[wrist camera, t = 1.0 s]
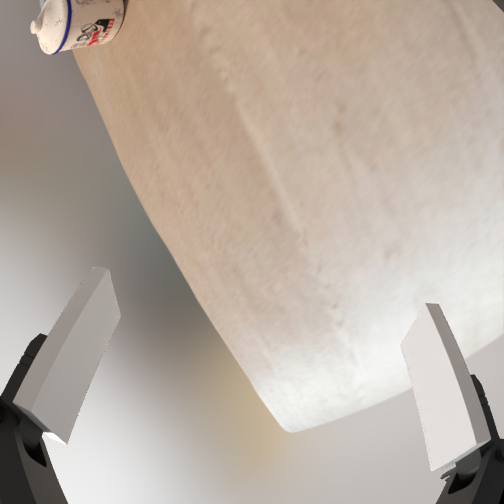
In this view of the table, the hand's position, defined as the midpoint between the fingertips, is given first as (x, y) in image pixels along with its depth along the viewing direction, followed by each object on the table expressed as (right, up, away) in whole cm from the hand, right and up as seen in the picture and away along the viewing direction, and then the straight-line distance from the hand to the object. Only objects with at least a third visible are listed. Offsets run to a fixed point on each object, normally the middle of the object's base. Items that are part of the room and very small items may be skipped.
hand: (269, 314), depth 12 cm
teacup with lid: (-19, +35, +15) cm, 43 cm away
